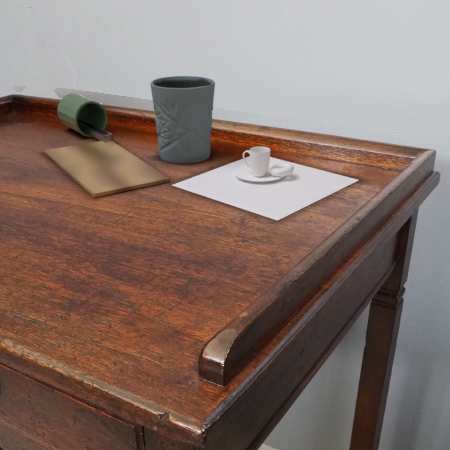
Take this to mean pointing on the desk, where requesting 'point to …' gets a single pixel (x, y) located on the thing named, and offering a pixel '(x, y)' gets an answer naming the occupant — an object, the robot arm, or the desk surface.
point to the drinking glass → (183, 117)
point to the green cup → (81, 112)
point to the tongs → (95, 131)
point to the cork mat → (105, 168)
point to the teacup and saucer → (266, 184)
